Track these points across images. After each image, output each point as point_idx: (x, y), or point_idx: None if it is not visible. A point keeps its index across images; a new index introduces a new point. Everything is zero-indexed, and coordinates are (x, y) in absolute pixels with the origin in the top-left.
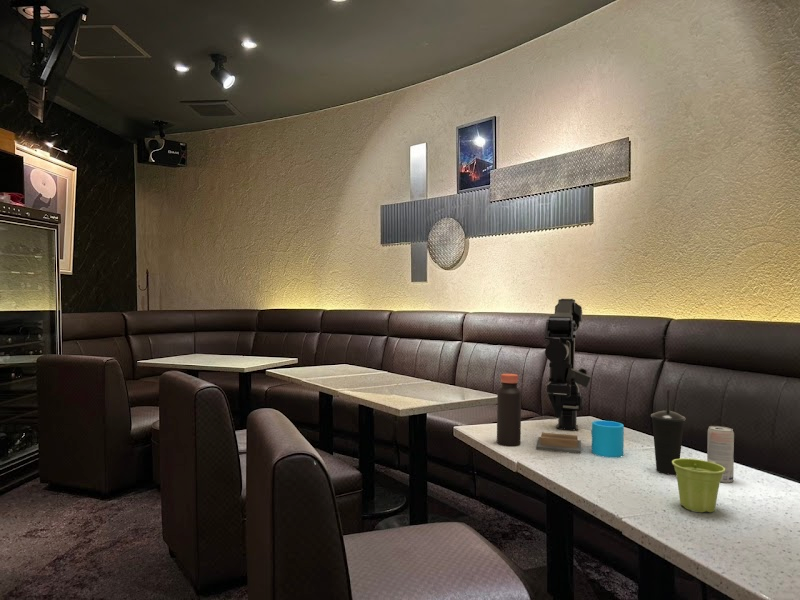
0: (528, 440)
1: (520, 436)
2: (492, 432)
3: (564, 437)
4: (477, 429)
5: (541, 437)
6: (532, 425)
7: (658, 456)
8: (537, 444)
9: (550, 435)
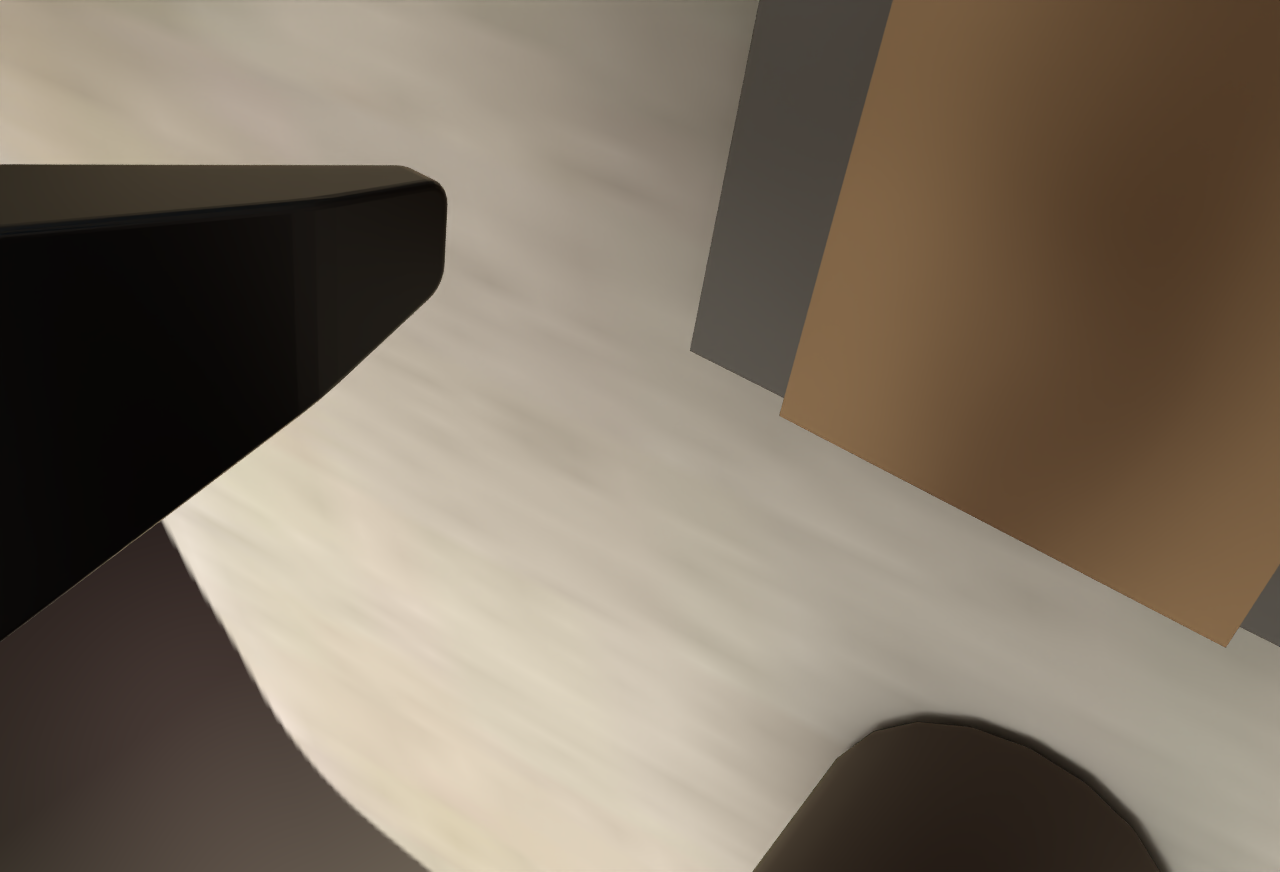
0: (795, 513)
1: (997, 829)
2: (496, 740)
3: (1250, 75)
4: (424, 811)
5: (1226, 627)
6: (72, 133)
7: None
8: (1258, 618)
9: (1032, 357)
